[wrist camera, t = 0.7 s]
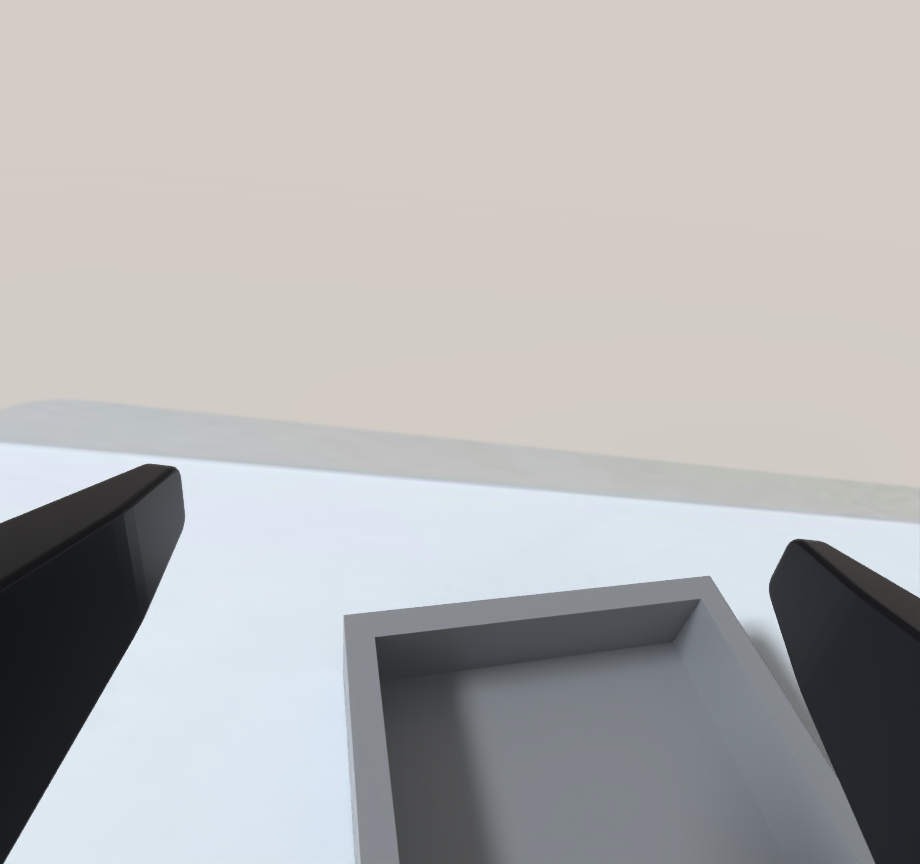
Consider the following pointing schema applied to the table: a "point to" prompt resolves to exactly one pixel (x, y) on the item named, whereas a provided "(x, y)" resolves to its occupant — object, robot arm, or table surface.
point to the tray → (582, 736)
